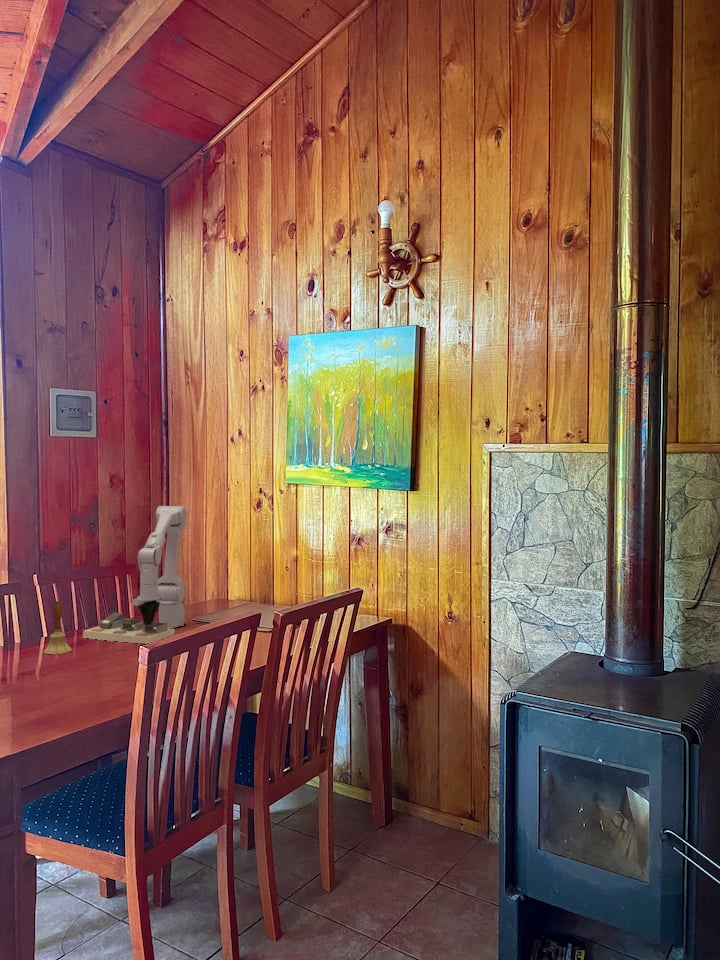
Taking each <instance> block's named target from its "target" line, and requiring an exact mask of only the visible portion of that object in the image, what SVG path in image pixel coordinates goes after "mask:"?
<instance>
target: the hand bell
mask: <svg viewBox="0 0 720 960" xmlns="http://www.w3.org/2000/svg"><path fill="white" fill-rule="evenodd" d="M62 610H63V609H62V605H61V602H60V601H59V600H55V601H54V605H53V607H52V615H53V616H52V617H53V619H54V632H53V633H52V634H50V636H49V641H48V645H47V646H46V647H45V649H43V654H45V655H48V654H53V655H52V656H57V655H56V654H60V655H64V653H65V654H68V653H67V652H69V653H71V652H72V651H73V649H72V647H71V646H70V645H69V643H68V642H67V638H66V633H65V632H62V630H61V629H62V628H61V618H62V613H63V611H62ZM70 651H71V652H70Z"/></svg>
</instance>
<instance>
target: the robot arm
mask: <svg viewBox="0 0 720 960" xmlns="http://www.w3.org/2000/svg"><path fill="white" fill-rule="evenodd" d="M155 517H156V518H155V519H156V527H155V530H154V531H153V532H151V533H150V534H149V536H148V538H147V540H146V542H145V545H144V547H142V548H141V549H139V551H138V553H137V562H138V570H139V571H140V582H139V585H140V586H139V595H138V596H137V597H136V598H134V599H132V606H133V607H135V606H136V607H137V608H138V609H139V611H140V613H141V616H142V621H144V624H145V625H150V624H151V622H154V620H155V617H156V613H157V610H158V622H160V623H167V624H168V628H169V629H170V628H172V627H177V626H179V625H180V624H183V623H186V621H185V620H186V619H185V615H186V614H185V611H186V608H185V605H184V603H183V602H182V601H184V598H185V592H186V591H185V582H184V580H183V579H182V578H180V576H178V568H179V567H178V566H179V555H180V546H181V536H182V531H185V529H186V526H187V519H188V518H187V517H188V514H187V508H186V506H184V505H181V506H179V505H177V506H174V505H170V506H169V505H158V507H157V508H156V511H155ZM166 533H167V534H166ZM165 535H166V537H165ZM165 543H166V544H165ZM164 545H166V546H165V552H164V555H165V557H164V566H163V567H164V568H163V575H162V576H161V577H159V565H160V564H161V562H162V555H163V552H162V551H163V548H164Z"/></svg>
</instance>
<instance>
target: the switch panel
mask: <svg viewBox="0 0 720 960" xmlns="http://www.w3.org/2000/svg"><path fill="white" fill-rule="evenodd" d="M103 620H104V619H101V620H98V626H95V627H91V628H88V629H84V630H82V638H83V639H86V638H89V639H88V640H95V639H97V640H98V641H104V640H107V641H106V642H113V641H118V642H117V643H122V642H129V643H128V644H131V643H138V644H137V645H140V644H139V643H145V644H147V643H151V642H155V641H158V640H161V639H163V638H166V637H168V636H171V635H174V633H175V634H176V629H169V628H168V624H163V625H160V626H157V627H148V626H143V622H140V623H137V624H134V625H130V624H122V623H121V620H118V621H115V622H112V627H111V628H100V625H99V623H100V622H101V621H103ZM97 640H96V641H97Z"/></svg>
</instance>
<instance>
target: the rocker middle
mask: <svg viewBox="0 0 720 960" xmlns="http://www.w3.org/2000/svg"><path fill="white" fill-rule="evenodd" d="M140 622H143V620H137V619H133V618H125V617H124V618H122V619H121V623H122V624H130V625H134V624H137V623H140Z"/></svg>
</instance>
